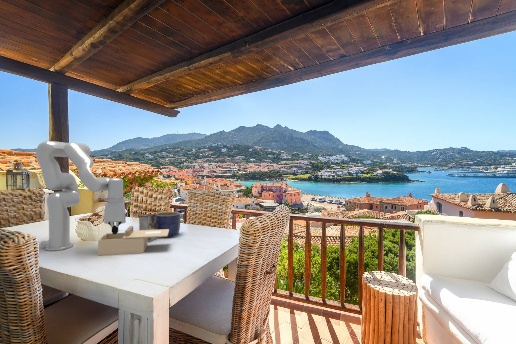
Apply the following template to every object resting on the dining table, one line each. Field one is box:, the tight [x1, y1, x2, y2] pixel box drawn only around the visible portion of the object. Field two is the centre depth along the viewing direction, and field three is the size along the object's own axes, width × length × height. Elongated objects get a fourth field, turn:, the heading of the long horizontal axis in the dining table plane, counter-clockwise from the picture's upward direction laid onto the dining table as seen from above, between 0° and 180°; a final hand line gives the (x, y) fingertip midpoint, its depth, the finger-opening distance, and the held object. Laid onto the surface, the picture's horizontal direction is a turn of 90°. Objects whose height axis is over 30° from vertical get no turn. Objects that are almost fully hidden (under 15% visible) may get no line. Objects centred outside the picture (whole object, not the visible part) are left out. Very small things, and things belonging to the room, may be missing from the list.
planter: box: [155, 211, 181, 238], centre depth 185 cm, size 17×16×15 cm
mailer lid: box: [123, 225, 169, 239], centre depth 155 cm, size 22×15×4 cm
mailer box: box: [97, 232, 148, 257], centre depth 152 cm, size 22×15×8 cm
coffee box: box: [138, 213, 157, 244], centre depth 172 cm, size 9×6×16 cm
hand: (114, 233), depth 151 cm, fingers closed
